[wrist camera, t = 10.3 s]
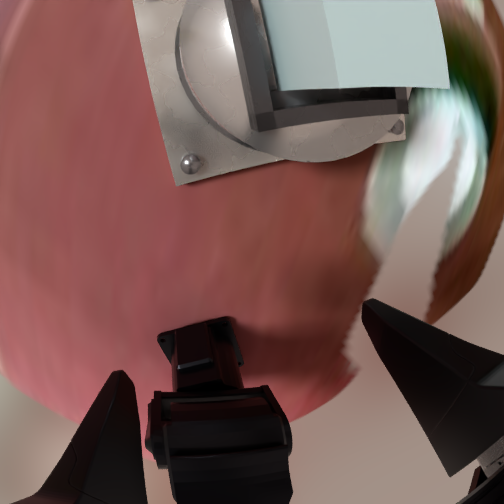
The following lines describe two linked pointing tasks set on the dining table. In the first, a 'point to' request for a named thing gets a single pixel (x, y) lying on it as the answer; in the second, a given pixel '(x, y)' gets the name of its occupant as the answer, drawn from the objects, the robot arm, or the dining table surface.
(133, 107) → the dining table surface
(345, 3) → the block with peg
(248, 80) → the metal mounting base
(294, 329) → the dining table surface
